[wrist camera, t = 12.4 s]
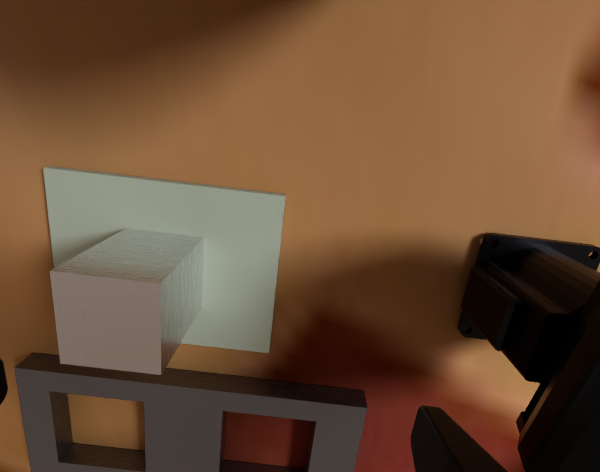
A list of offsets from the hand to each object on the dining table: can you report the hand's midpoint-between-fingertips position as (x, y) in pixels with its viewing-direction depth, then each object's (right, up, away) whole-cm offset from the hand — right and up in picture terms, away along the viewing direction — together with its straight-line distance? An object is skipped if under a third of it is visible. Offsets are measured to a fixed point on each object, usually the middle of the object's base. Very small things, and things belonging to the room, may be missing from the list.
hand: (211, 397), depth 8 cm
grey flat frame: (-5, -10, +17) cm, 20 cm away
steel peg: (-6, +2, +13) cm, 14 cm away
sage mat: (-6, +2, +13) cm, 15 cm away
